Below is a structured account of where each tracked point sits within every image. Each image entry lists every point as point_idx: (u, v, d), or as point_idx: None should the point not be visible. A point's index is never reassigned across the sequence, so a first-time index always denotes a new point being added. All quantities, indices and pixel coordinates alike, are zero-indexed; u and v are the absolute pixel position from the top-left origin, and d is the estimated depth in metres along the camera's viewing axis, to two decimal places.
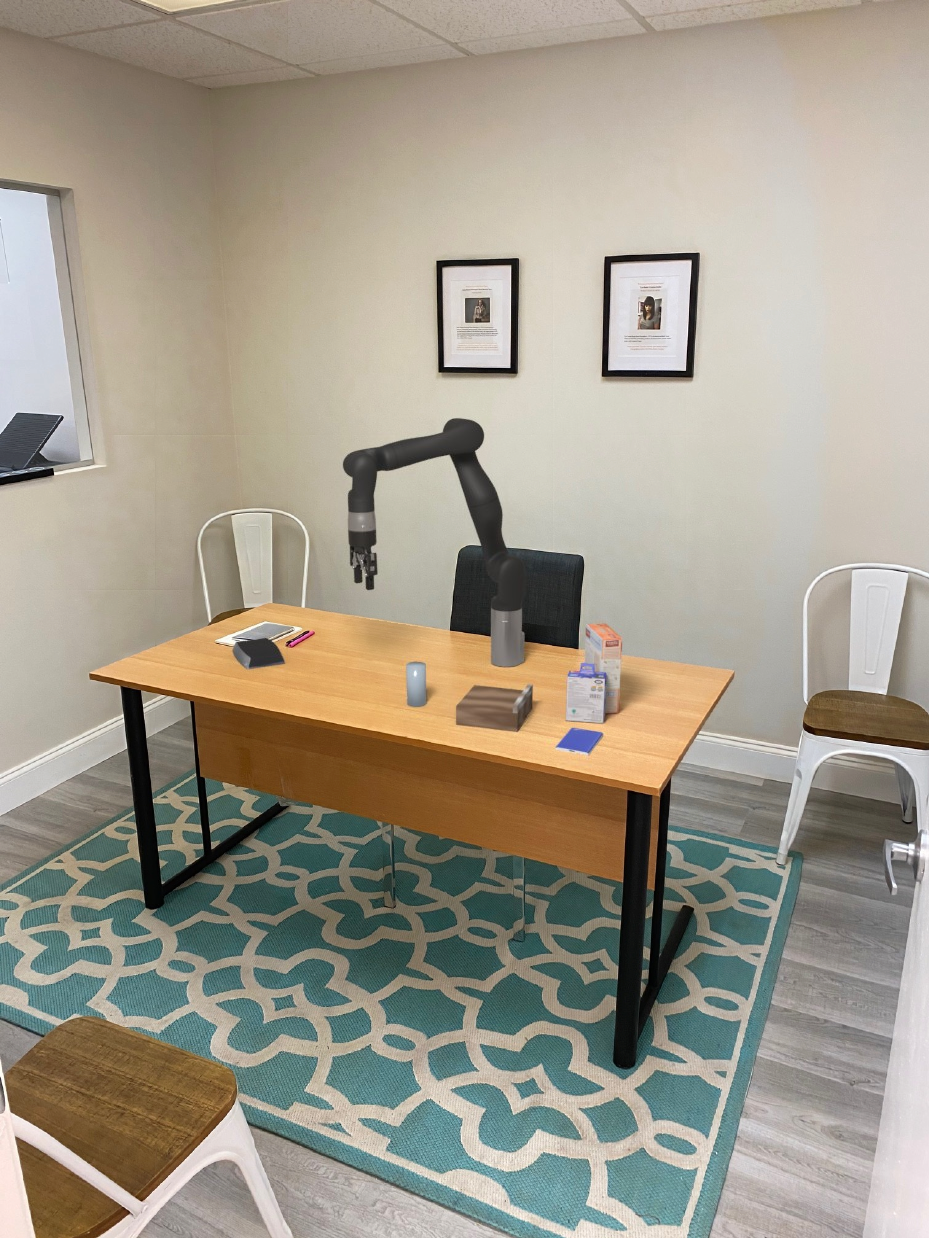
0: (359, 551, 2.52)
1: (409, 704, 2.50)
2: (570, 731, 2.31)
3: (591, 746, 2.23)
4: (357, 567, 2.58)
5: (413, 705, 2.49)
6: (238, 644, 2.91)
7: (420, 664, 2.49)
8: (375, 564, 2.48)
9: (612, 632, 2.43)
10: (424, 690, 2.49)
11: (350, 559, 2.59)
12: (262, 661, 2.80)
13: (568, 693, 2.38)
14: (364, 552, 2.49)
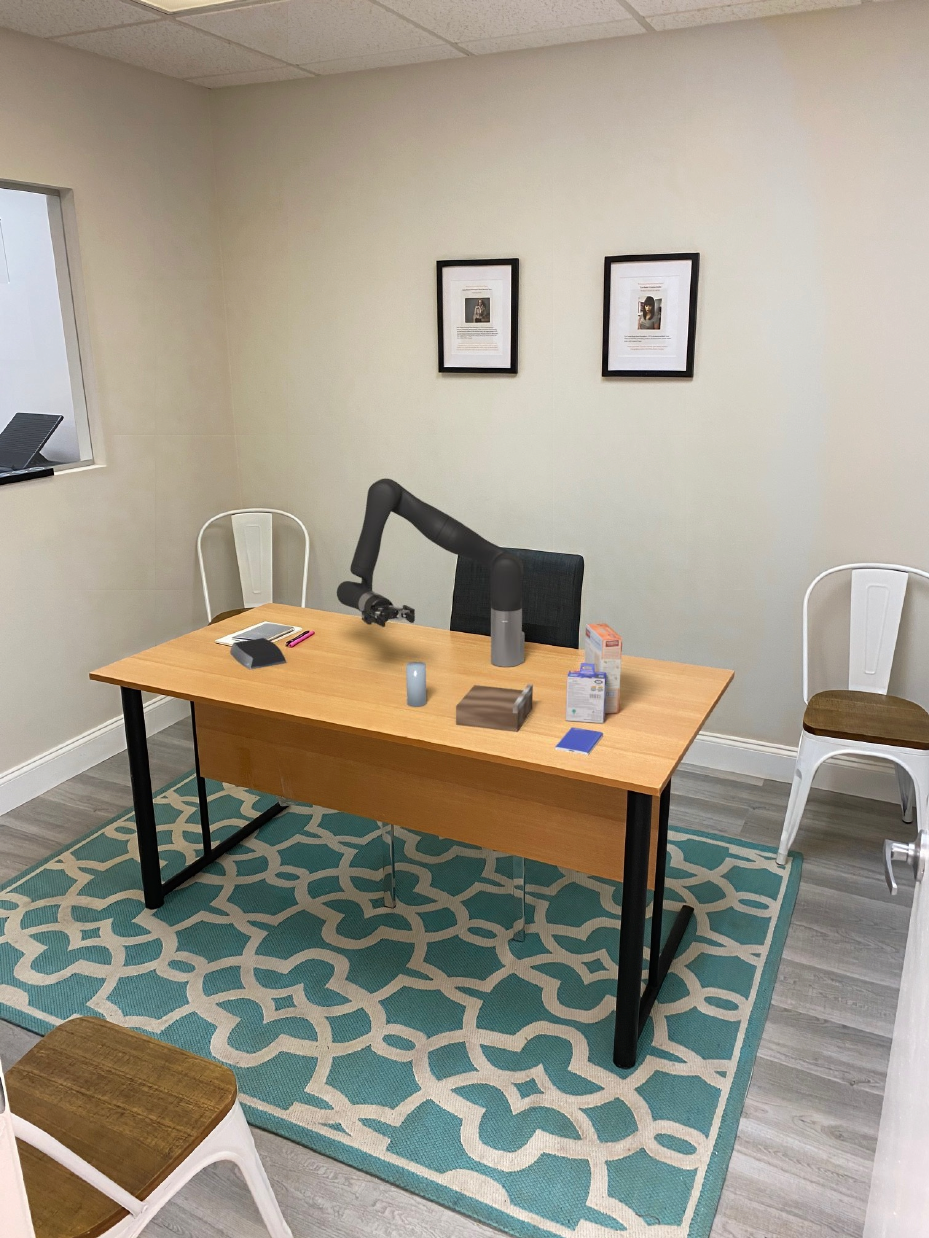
0: None
1: (409, 704, 2.50)
2: (570, 731, 2.31)
3: (591, 746, 2.23)
4: None
5: (413, 705, 2.49)
6: (237, 645, 2.90)
7: (420, 664, 2.49)
8: (364, 615, 2.58)
9: (612, 632, 2.43)
10: (424, 690, 2.49)
11: None
12: (264, 661, 2.80)
13: (568, 693, 2.38)
14: None
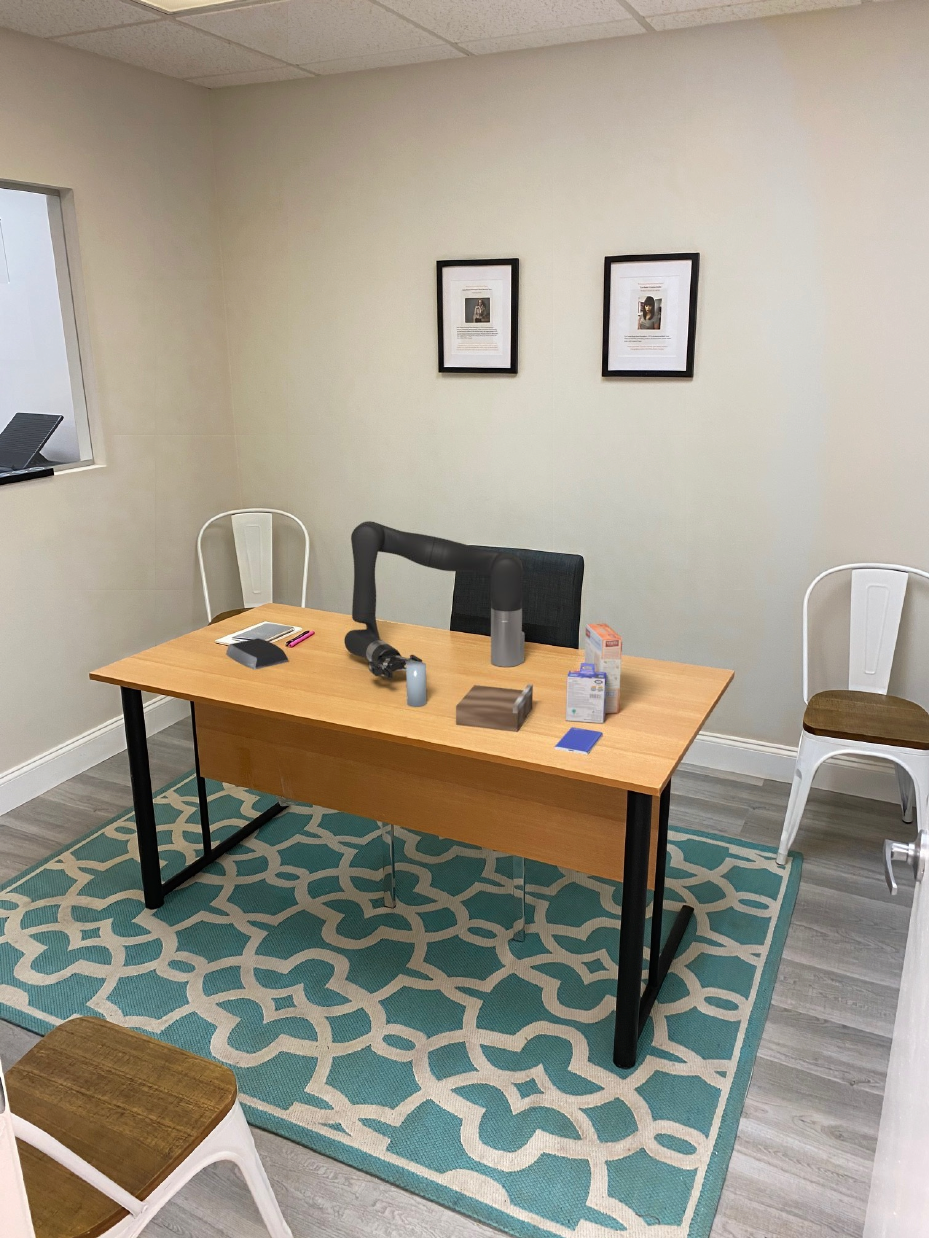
0: None
1: (409, 704, 2.50)
2: (570, 731, 2.31)
3: (590, 745, 2.23)
4: None
5: (413, 705, 2.49)
6: (235, 646, 2.89)
7: (420, 664, 2.49)
8: (371, 666, 2.59)
9: (612, 632, 2.43)
10: (424, 690, 2.49)
11: None
12: (268, 661, 2.81)
13: (568, 693, 2.38)
14: None
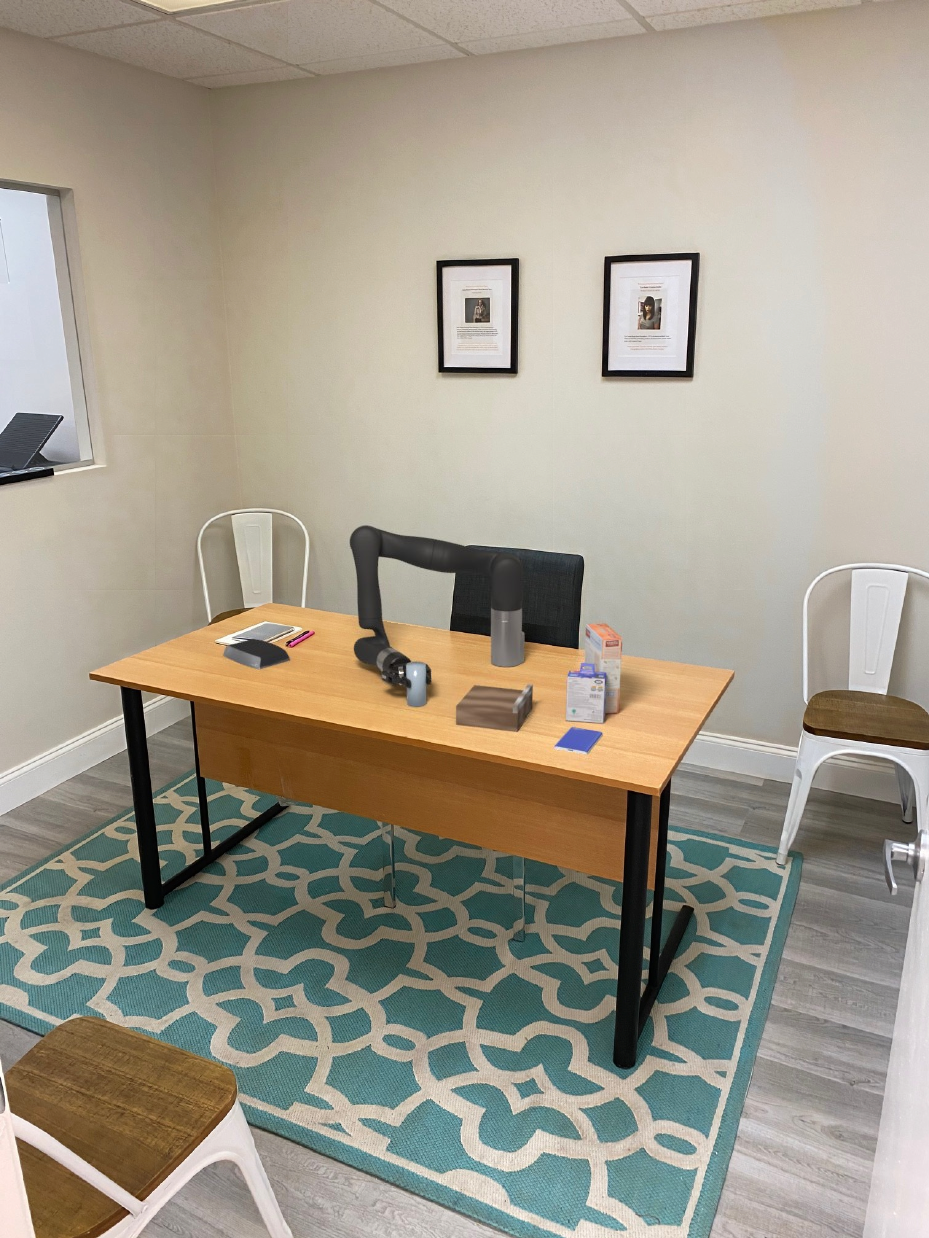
0: None
1: (409, 704, 2.50)
2: (569, 730, 2.31)
3: (590, 745, 2.23)
4: None
5: (413, 705, 2.49)
6: (233, 647, 2.88)
7: (420, 664, 2.49)
8: (387, 675, 2.51)
9: (612, 632, 2.43)
10: (424, 690, 2.49)
11: None
12: (271, 660, 2.81)
13: (568, 693, 2.38)
14: None
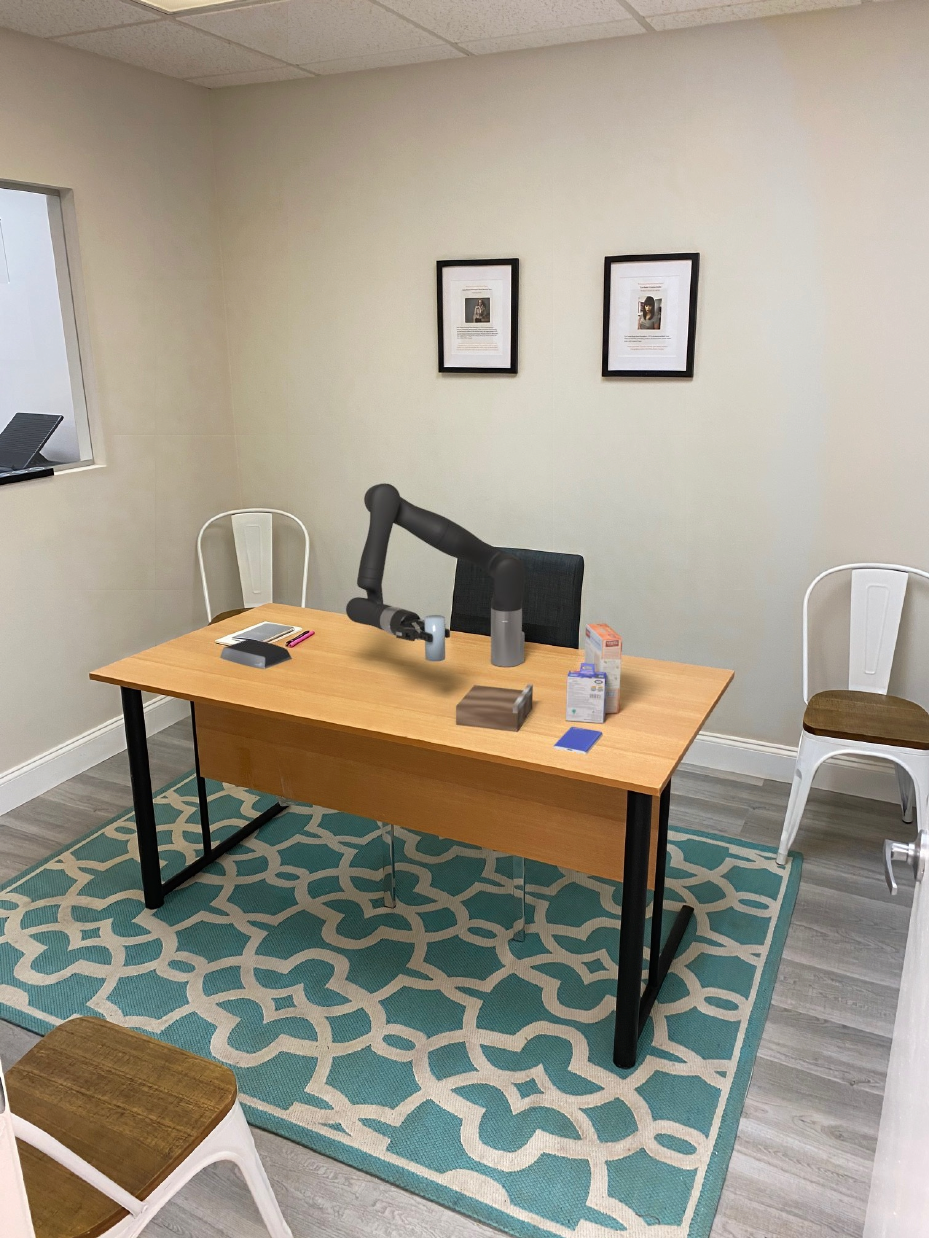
0: None
1: (429, 659, 2.42)
2: (569, 730, 2.31)
3: (589, 745, 2.23)
4: None
5: (434, 660, 2.41)
6: (232, 648, 2.87)
7: (438, 617, 2.42)
8: (404, 632, 2.42)
9: (612, 632, 2.43)
10: (444, 643, 2.42)
11: None
12: (274, 659, 2.82)
13: (568, 693, 2.38)
14: None
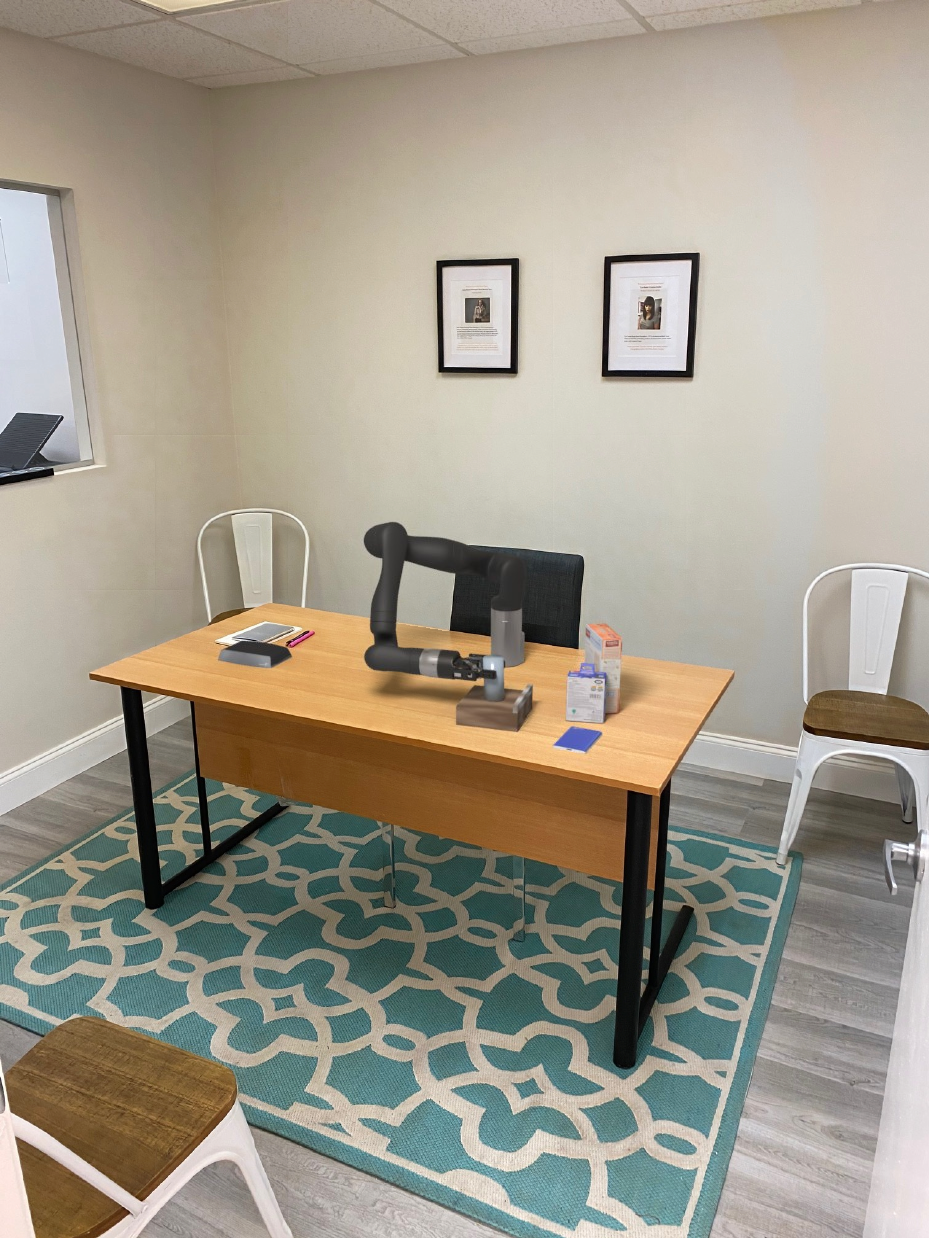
0: None
1: (494, 700, 2.39)
2: (569, 730, 2.32)
3: (588, 745, 2.23)
4: None
5: (499, 699, 2.39)
6: (231, 650, 2.85)
7: (494, 656, 2.39)
8: (464, 672, 2.34)
9: (612, 632, 2.43)
10: None
11: None
12: (278, 658, 2.83)
13: (568, 693, 2.38)
14: None
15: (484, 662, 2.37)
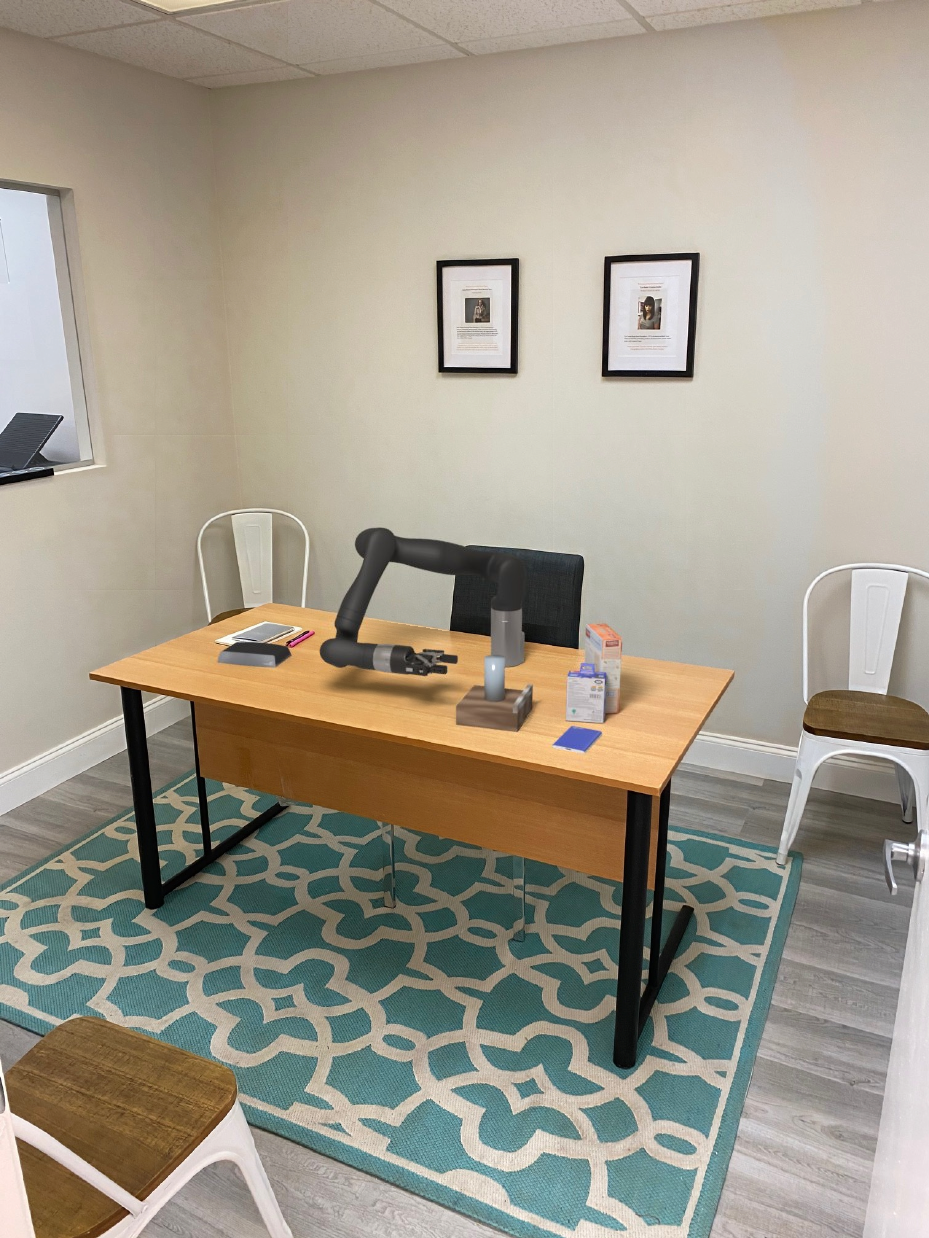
0: None
1: (494, 700, 2.39)
2: (569, 729, 2.32)
3: (588, 744, 2.23)
4: (441, 658, 2.47)
5: (499, 700, 2.39)
6: (231, 651, 2.84)
7: (496, 656, 2.39)
8: (415, 667, 2.38)
9: (612, 632, 2.43)
10: None
11: None
12: (281, 657, 2.84)
13: (568, 693, 2.38)
14: None
15: (485, 662, 2.37)
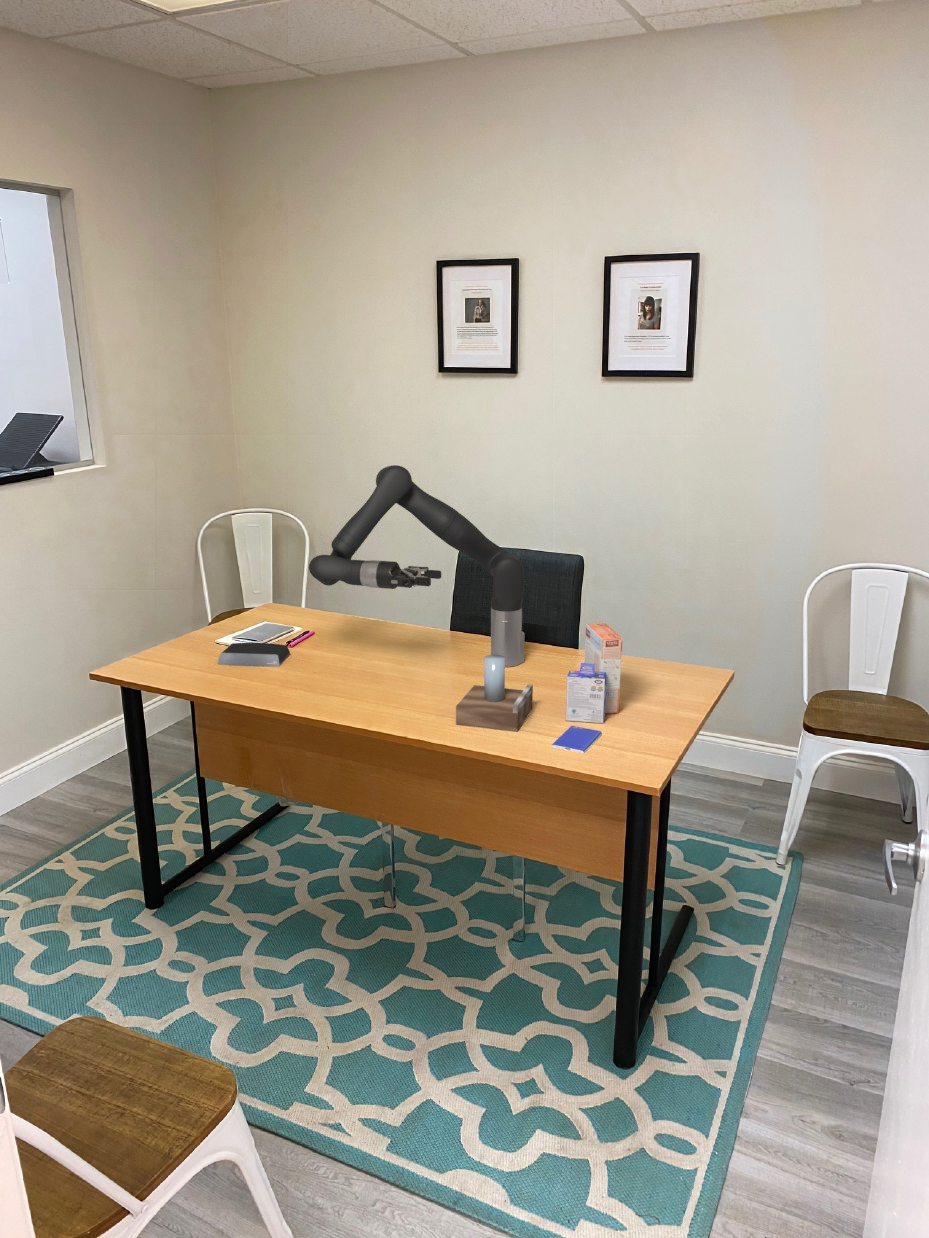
0: None
1: (494, 700, 2.39)
2: (569, 729, 2.32)
3: (587, 744, 2.23)
4: (425, 574, 2.58)
5: (499, 700, 2.39)
6: (232, 652, 2.83)
7: (496, 656, 2.39)
8: (400, 579, 2.48)
9: (612, 632, 2.43)
10: None
11: (422, 575, 2.61)
12: (282, 656, 2.85)
13: (568, 693, 2.38)
14: None
15: (485, 662, 2.37)
